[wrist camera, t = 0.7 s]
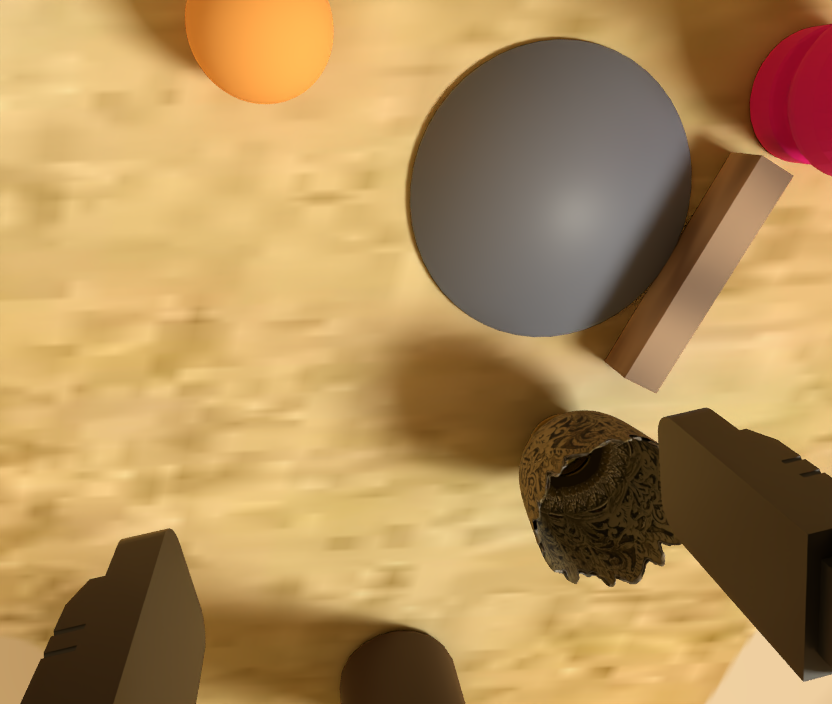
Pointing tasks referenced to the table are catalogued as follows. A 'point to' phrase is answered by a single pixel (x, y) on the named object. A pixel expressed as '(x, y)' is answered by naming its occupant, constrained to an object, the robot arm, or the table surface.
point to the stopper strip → (698, 268)
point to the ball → (260, 45)
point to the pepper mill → (796, 99)
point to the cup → (595, 497)
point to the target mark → (550, 188)
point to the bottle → (400, 672)
